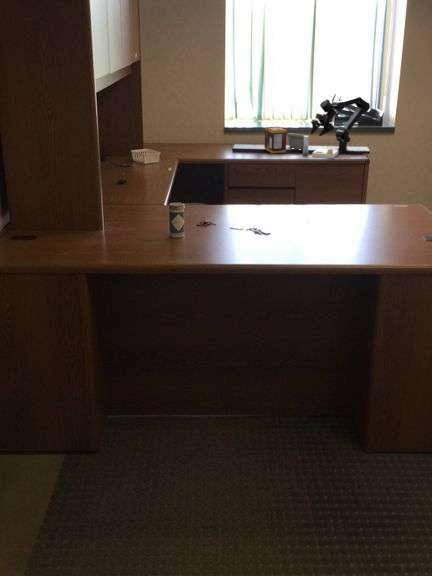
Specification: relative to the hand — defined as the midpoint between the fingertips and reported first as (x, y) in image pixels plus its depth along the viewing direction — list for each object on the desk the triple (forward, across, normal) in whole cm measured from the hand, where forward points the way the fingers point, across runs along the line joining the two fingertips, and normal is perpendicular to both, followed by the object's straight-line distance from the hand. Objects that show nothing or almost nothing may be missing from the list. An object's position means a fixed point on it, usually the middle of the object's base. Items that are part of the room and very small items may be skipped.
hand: (315, 134), depth 430 cm
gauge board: (+6, +7, +12) cm, 15 cm away
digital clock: (+8, -21, +11) cm, 25 cm away
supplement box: (+21, -24, -2) cm, 32 cm away
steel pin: (+15, 0, +4) cm, 15 cm away
